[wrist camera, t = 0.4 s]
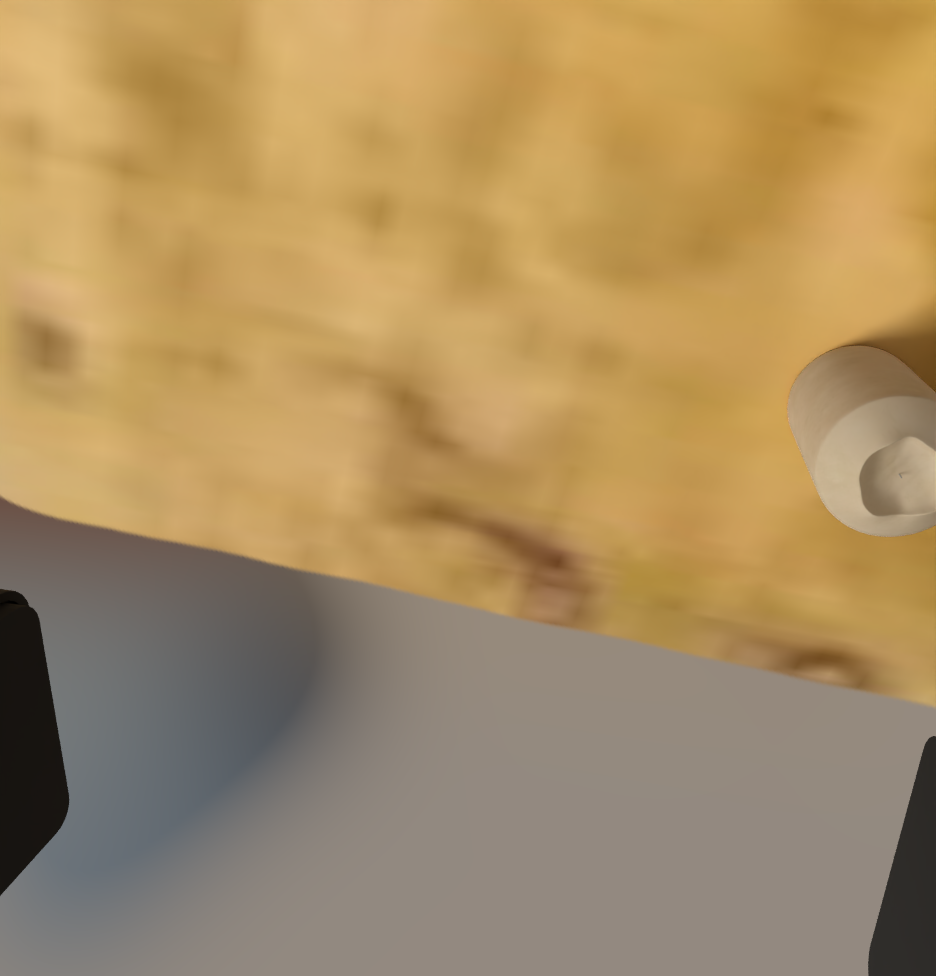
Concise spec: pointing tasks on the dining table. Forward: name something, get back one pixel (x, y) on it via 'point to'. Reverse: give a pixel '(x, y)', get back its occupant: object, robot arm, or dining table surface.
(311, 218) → the dining table surface
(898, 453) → the candle
